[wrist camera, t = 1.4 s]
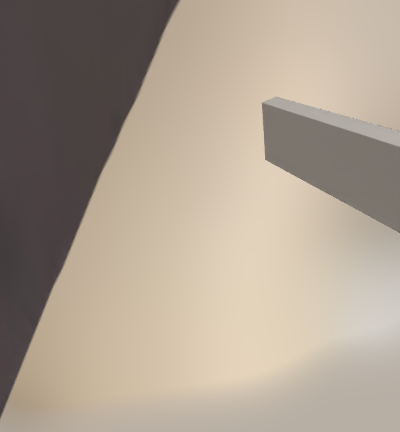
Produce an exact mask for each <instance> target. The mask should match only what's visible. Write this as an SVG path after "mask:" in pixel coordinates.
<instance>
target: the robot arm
mask: <svg viewBox="0 0 400 432" xmlns="http://www.w3.org/2000/svg"><path fill="white" fill-rule="evenodd" d="M262 110H263V126H264V143H265V159H266V160H267V161H269V162H271V163H272V164H274V165H276V166H278V167H280V168H282V169H284V170H285V171H287V172H289V173H291V174H293V175H295V176H296V177H298V178H300V179H302V180H304V181H306V182H307V183H309V184H311V185H313V186H315V187H317V188H318V189H320V190H322V191H324V192H326V193H328V194H329V195H331V196H333V197H335V198H337V199H339V200H340V201H343V202H344V203H346V204H348V205H350V206H352V207H353V208H355V209H357V210H359V211H361V212H363V213H364V214H366V215H368V216H370V217H372V218H374V219H376V220H377V221H379V222H381V223H383V224H385V225H386V226H388V227H390V228H392V229H394V230H396V231H397V232H399V233H400V131H398V130H393V129H390V128H386V127H383V126H380V125H375V124H372V123H368V122H365V121H361V120H357V119H354V118H350V117H347V116H343V115H340V114H336V113H332V112H329V111H326V110H322V109H318V108H315V107H311V106H308V105H304V104H301V103H297V102H293V101H290V100H286V99H282V98H279V97H275V98H272V99H270V100H267V101H265V102H263V103H262Z"/></svg>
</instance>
